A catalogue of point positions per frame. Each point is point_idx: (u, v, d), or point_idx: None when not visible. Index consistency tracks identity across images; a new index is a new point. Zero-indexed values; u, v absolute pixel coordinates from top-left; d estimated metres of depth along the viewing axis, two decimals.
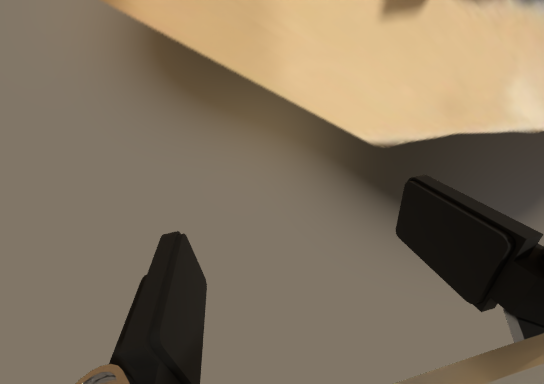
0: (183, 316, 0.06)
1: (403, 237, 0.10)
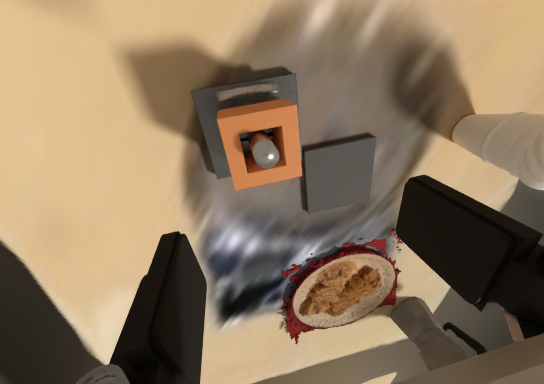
0: (183, 316, 0.06)
1: (403, 237, 0.10)
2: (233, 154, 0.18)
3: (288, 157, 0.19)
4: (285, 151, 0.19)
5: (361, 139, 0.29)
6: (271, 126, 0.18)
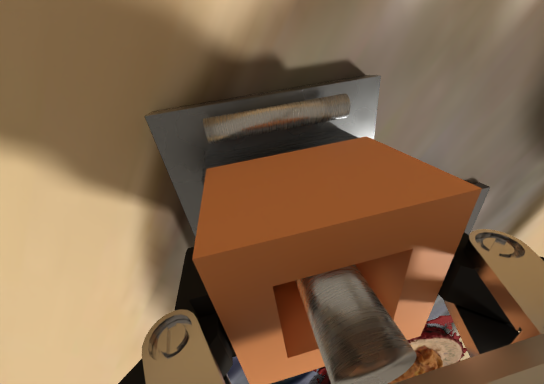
0: None
1: None
2: (251, 332, 0.06)
3: (402, 311, 0.07)
4: (399, 301, 0.07)
5: None
6: (381, 254, 0.05)
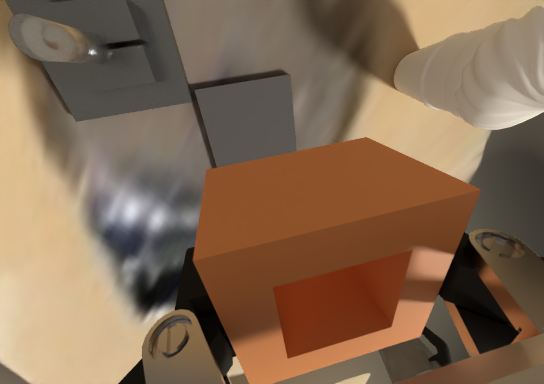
0: None
1: None
2: (252, 332, 0.06)
3: (402, 312, 0.07)
4: (399, 301, 0.07)
5: (271, 77, 0.23)
6: (381, 255, 0.05)
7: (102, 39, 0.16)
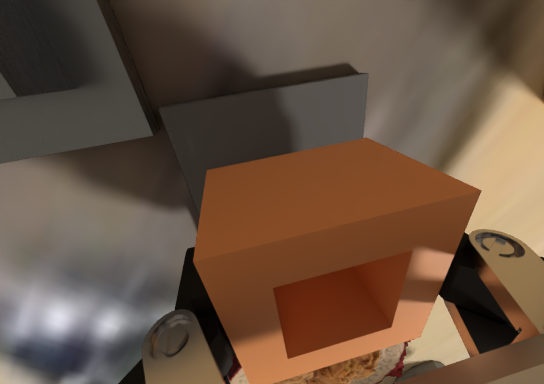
0: None
1: None
2: (252, 332, 0.06)
3: (402, 312, 0.07)
4: (399, 302, 0.07)
5: (328, 79, 0.11)
6: (381, 256, 0.05)
7: None
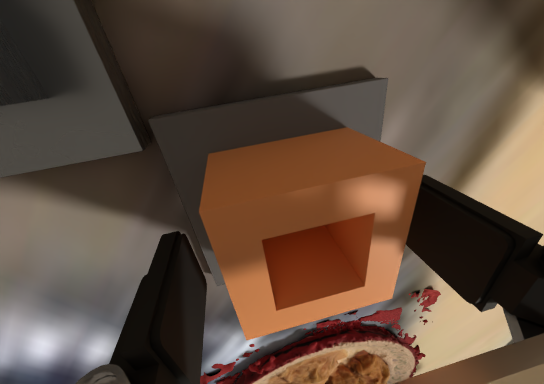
0: (183, 316, 0.06)
1: None
2: (245, 281, 0.07)
3: (372, 272, 0.08)
4: (369, 261, 0.08)
5: (342, 85, 0.09)
6: (349, 216, 0.07)
7: None
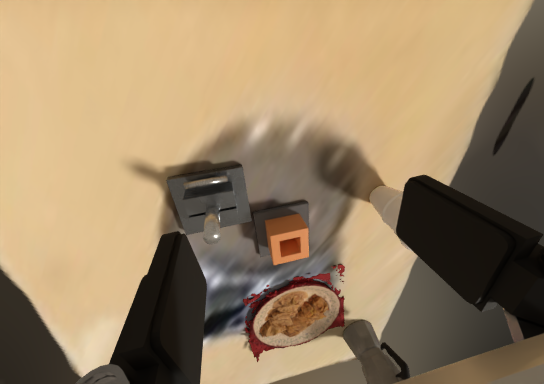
0: (183, 316, 0.06)
1: (403, 237, 0.10)
2: (275, 249, 0.36)
3: (302, 249, 0.37)
4: (301, 246, 0.37)
5: (297, 204, 0.39)
6: (295, 237, 0.36)
7: (218, 208, 0.32)
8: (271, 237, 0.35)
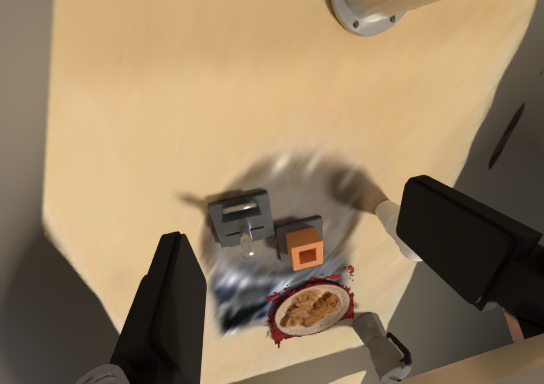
0: (183, 316, 0.06)
1: (403, 237, 0.10)
2: (295, 258, 0.43)
3: (317, 257, 0.45)
4: (316, 255, 0.44)
5: (312, 219, 0.46)
6: (311, 248, 0.43)
7: (249, 228, 0.39)
8: (292, 249, 0.42)
